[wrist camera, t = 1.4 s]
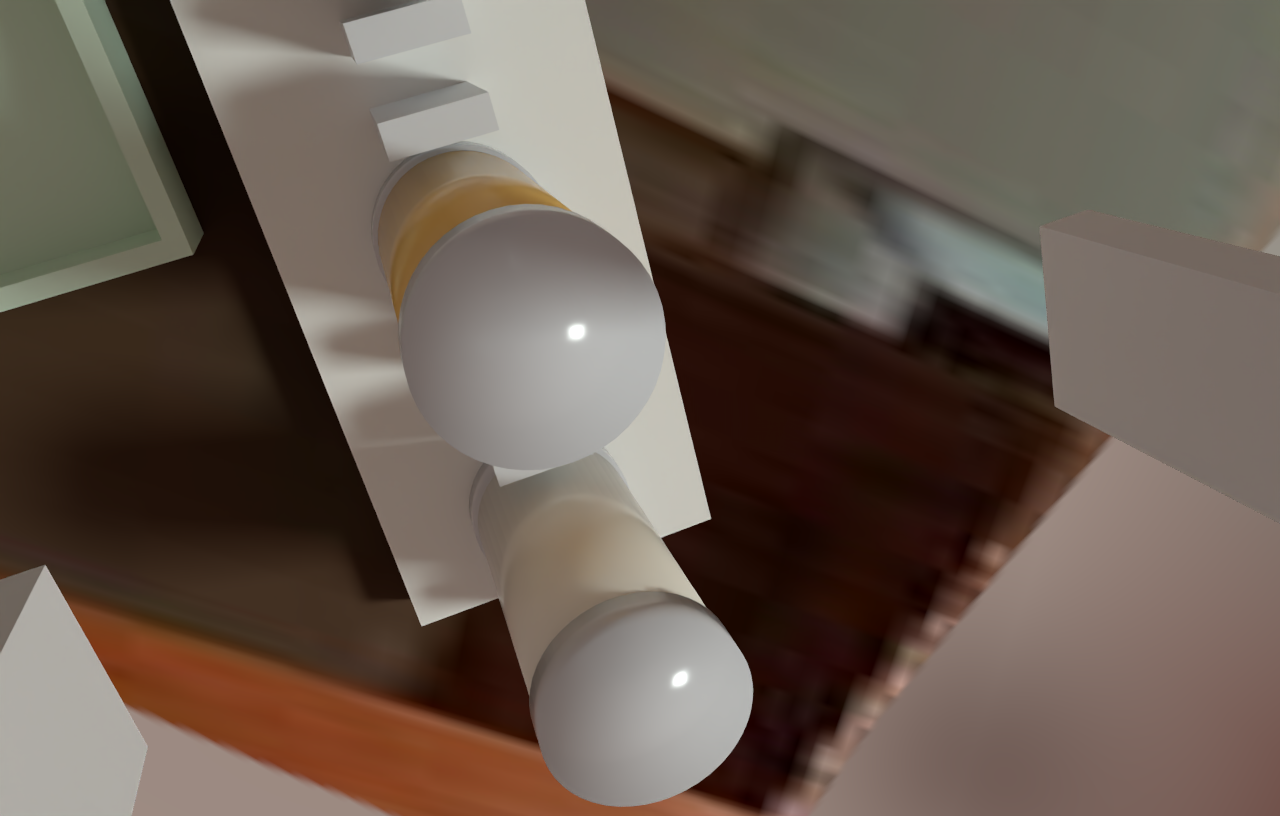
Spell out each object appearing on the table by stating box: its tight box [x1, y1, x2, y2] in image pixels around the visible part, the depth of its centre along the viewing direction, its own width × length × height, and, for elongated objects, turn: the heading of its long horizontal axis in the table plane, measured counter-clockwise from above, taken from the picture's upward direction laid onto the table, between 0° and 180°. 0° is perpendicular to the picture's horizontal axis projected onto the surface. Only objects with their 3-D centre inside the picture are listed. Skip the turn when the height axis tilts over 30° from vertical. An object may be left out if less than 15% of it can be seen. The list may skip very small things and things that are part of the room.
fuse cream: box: [469, 447, 753, 807], centre depth 25 cm, size 4×4×10 cm
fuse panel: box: [170, 0, 711, 626], centre depth 25 cm, size 22×9×5 cm, turn 14°
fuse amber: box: [371, 141, 666, 470], centre depth 22 cm, size 4×4×10 cm
